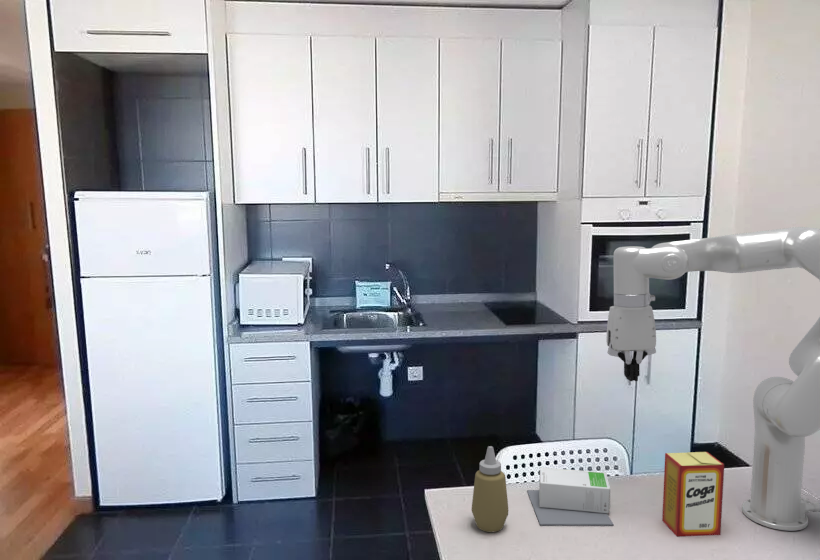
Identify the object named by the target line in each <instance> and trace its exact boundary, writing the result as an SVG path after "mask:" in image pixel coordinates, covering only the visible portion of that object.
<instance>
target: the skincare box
mask: <svg viewBox="0 0 820 560" xmlns="http://www.w3.org/2000/svg"><path fill="white" fill-rule="evenodd" d="M538 485H539V486H538V487H539V489H538V490H539V507H545V508H556V509H567V510H578V511H588V512H599V513H607V514H608V515H609V514H610V507H611V487H610V483H609V479H608V473H607V471H606V472H603V471H594V470H593V471H591V470H580V469H578V470H577V469H566V468H564V469H563V468H552V467H541V466H540V467H539V483H538Z"/></svg>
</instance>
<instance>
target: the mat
mask: <svg viewBox="0 0 820 560" xmlns="http://www.w3.org/2000/svg"><path fill="white" fill-rule="evenodd" d="M526 492H527V495H528V498H529V501H530V503H531V505H532V506H531V507H532V508H533V511H534V513H535V516H536V518H537V522H538V524H539V526H540V527H545V526H546V527H615V526H614V525H615V524H614V523H613V521H612V519H611V517H610V516H609V514H608V513H599V512H588V511H578V510H567V509H556V508H545V507H539V489H527V490H526Z"/></svg>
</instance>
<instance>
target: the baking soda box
mask: <svg viewBox="0 0 820 560" xmlns="http://www.w3.org/2000/svg"><path fill="white" fill-rule="evenodd" d="M663 474H664V476H663V492H662V493H663V495H662V496H663V497H662V516H661V517H662V518H661V522H663V523H664V524H665V525H666V527H668V529H669V530H670V531H671V532H672V533H673V534H674V535H675V537H679V538H680V537H700V536H702V537H705V536H721V530H722V529H721V528H722V514H723V511H722V510H723V497H724V496H723V495H724V494H723V493H724V477H725V463H724V462H721V461H720V460H719V459H717V458H716V457H715V456H714V455H712V454H711V453H709V452H708V451H695V452H693V451H692V452H665V454H664V472H663Z"/></svg>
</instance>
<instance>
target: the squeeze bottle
mask: <svg viewBox="0 0 820 560" xmlns="http://www.w3.org/2000/svg"><path fill="white" fill-rule="evenodd" d="M495 454H496V453H495V450H494V446H492V445H490V446H489V445H488V446H487V449H486V454H485V457H484V459H482V460H480V462H479V470H477V471H476V472H475V474H474V481H473V482H474V483H473V492H472V493H473V494H472V501H471V513H472V516H473V519H474V522H475V525H476V527H477V528H478V529H479V530H480V531H483V532H487V533H495V532H500V531H501V530H502V529H503V528H504V526H505V523H506V520H507V518H508V515H509V501H508V491H507V490H508V489H507V478H506V473H504V471H502V463H501V461H499V460H497V459H496V455H495Z"/></svg>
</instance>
